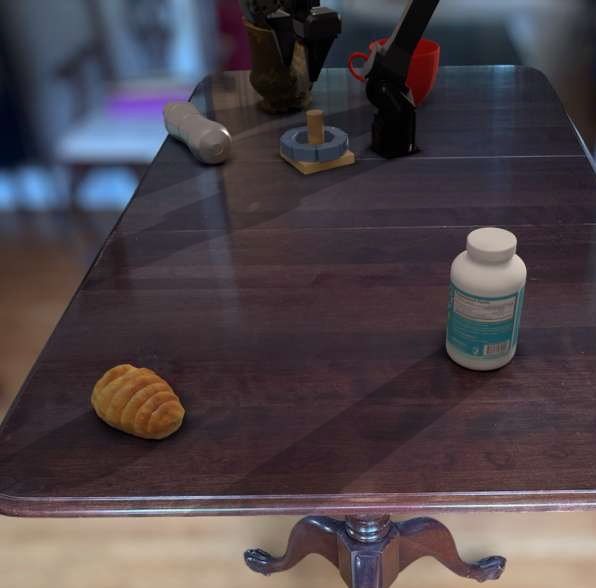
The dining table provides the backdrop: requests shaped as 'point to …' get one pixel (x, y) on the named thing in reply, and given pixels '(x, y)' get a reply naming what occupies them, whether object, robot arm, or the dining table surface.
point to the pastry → (137, 402)
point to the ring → (312, 153)
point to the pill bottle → (485, 300)
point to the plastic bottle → (197, 132)
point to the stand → (317, 138)
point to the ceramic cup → (413, 68)
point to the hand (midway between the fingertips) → (299, 74)
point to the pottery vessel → (276, 71)
